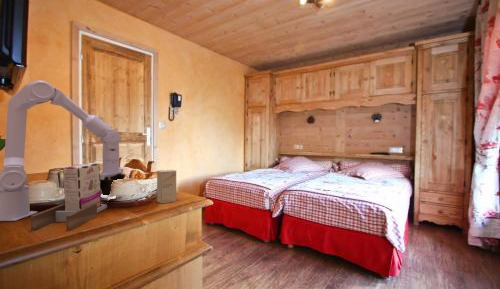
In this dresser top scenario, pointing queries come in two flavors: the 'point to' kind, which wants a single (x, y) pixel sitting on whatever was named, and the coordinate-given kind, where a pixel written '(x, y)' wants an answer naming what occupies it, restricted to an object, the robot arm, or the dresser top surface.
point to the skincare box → (166, 186)
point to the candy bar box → (82, 186)
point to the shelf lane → (71, 220)
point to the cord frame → (62, 214)
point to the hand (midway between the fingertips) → (111, 194)
